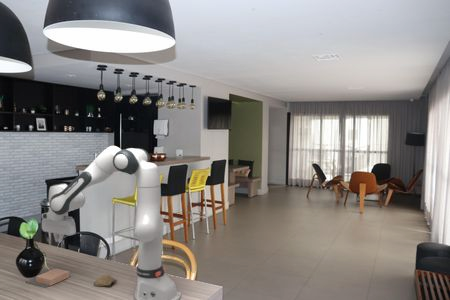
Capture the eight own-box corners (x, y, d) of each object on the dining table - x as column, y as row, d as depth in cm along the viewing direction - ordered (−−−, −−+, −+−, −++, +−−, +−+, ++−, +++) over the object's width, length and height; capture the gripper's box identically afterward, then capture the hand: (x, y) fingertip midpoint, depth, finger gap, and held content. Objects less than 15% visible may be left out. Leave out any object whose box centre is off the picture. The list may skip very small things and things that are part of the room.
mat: (70, 276, 193) (70, 275, 193) (45, 287, 178) (45, 287, 178) (51, 271, 198) (51, 271, 198) (25, 282, 184) (25, 282, 184)
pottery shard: (92, 288, 181) (107, 287, 177) (91, 279, 182) (106, 278, 178) (107, 281, 191) (122, 280, 187) (106, 273, 191) (121, 271, 188)
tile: (69, 271, 190) (55, 268, 194) (50, 279, 179) (36, 276, 183) (69, 277, 191) (55, 274, 195) (50, 286, 180) (36, 282, 184)
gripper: (78, 215, 183) (79, 242, 183) (49, 211, 191) (49, 237, 191) (68, 218, 177) (69, 246, 177) (39, 214, 185) (39, 240, 186)
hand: (58, 241), depth 184 cm, fingers closed
